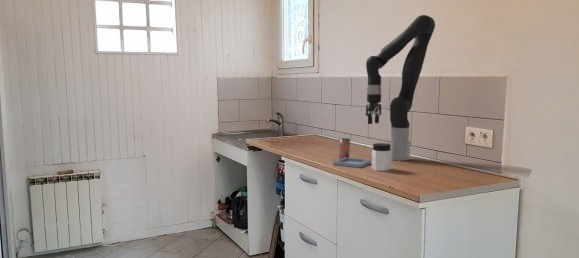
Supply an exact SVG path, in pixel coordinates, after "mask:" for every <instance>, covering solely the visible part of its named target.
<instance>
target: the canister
mask: <svg viewBox="0 0 579 258" xmlns="http://www.w3.org/2000/svg"><path fill="white" fill-rule="evenodd" d="M338 141H339V142H338V144H339V145H338V147H339V148H338V158H339V159H342V158H345V157H347V158H351V157H350V156H351V138H348V137H341V138H339V139H338ZM339 159H338V160H339Z"/></svg>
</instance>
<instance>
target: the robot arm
mask: <svg viewBox="0 0 579 258" xmlns="http://www.w3.org/2000/svg"><path fill="white" fill-rule="evenodd" d="M435 28H436V22H435V20H434V18H433V17H431V16H429V15H425V14H422V15H419V16H417V17H416V18H415V19H414V20H413V21H412V22H411V23H410V24H409V25H408V26H407V28H406V29H405V30H404V31H402V32H401V33H400V34H399V35H397V37H395V38H394V39H393V40H391V42H389V43H388V44H386V45H385V46H384V47H382V48H381V50H380V53H379V54H378V55H371V56H369V57H368V58H367V59H366V63H365V68H366V74H367V87H366V92H367V93H366V103H368V104H366V105H365V116H367V124H368V125H372V124H373V116H374V123H375V124H380V116H382V104H381V102H382V76H381V74H380V72H379V71H380V69H382V68H384V67H385V66H386V64H387V63H389V61H390V60H392V59H393V58H394V57H395V56H397V55H398V54H399V53H400V52H401V51H403V50H404V49H405V47H406V46H407V45H408V44H409V43H410V42H412V41H414V42H413V44H412V46H411V47H410V49H409V51H408V52H407V55H406V57H405V59H404V62H403V65H402V66H403V68H402V71H401V87H400V91H399V94H398V96H397V97H394V98H393V99H392V100H391V102H390V105H389V106H390V107H389V119H390V124H391V130H390V145H391V148H390V150H391V161H400V162H402V161H403V162H406V161H407V162H408V161H409V160H410V158H411V156H410V155H411V141H410V121H409V120H408V119H409V118H408V113H409V112H410V111H411V109H412V106H413V103H414V102H413V100H414V95H415V90H416V87H417V84H418V82H419V79H420V75H421V72H422V69H423V65H424V61H425V58H426V54H427V50H428V46H429V44H430V40H431V38H432V37H433V33H434V32H435V31H434V30H435ZM379 103H380V104H379Z"/></svg>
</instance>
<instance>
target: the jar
mask: <svg viewBox="0 0 579 258" xmlns="http://www.w3.org/2000/svg"><path fill="white" fill-rule="evenodd" d="M371 170H374V171H376V172H378V171H379V172H388V171H391V170H392V159H391V143H385V142H384V143H382V142H380V143H379V142H378V143H376V142H375V143H373V145H372V149H371Z"/></svg>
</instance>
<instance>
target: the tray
mask: <svg viewBox="0 0 579 258" xmlns="http://www.w3.org/2000/svg"><path fill="white" fill-rule="evenodd" d="M370 164H372V159H366V158H356V157H355V158H354V157H350V158H347V157H345V158H342V159H337V160H335V161H333V166H338V167H339V166H341V167H347V168H357V169H361V168H363V167H365V166H367V165H370Z"/></svg>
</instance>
